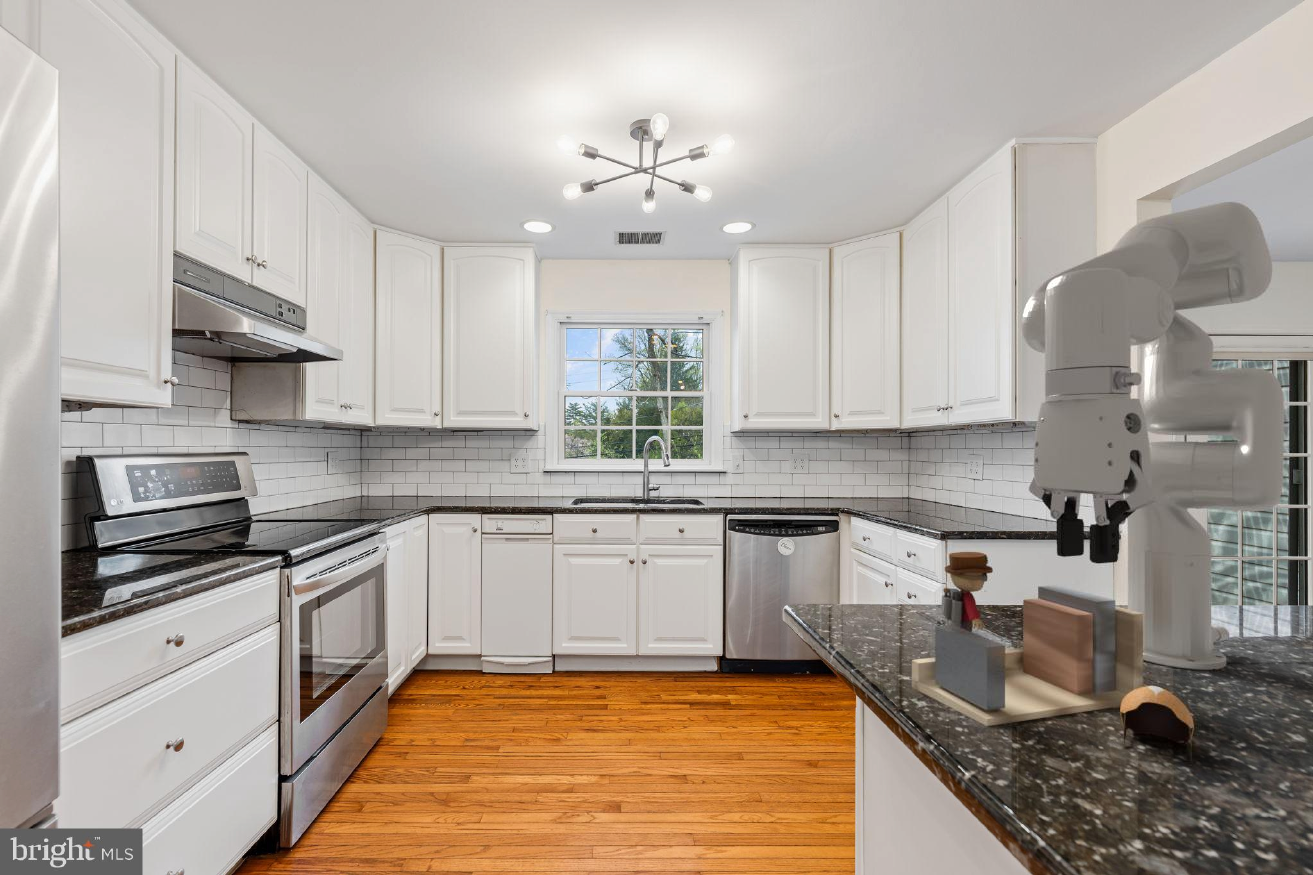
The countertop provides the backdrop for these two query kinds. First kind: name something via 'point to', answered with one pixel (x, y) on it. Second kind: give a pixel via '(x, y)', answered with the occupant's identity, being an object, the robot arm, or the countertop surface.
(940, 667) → the bookend
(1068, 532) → the robot arm
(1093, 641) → the book rack
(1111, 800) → the countertop surface
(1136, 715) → the helmet
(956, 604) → the toy
